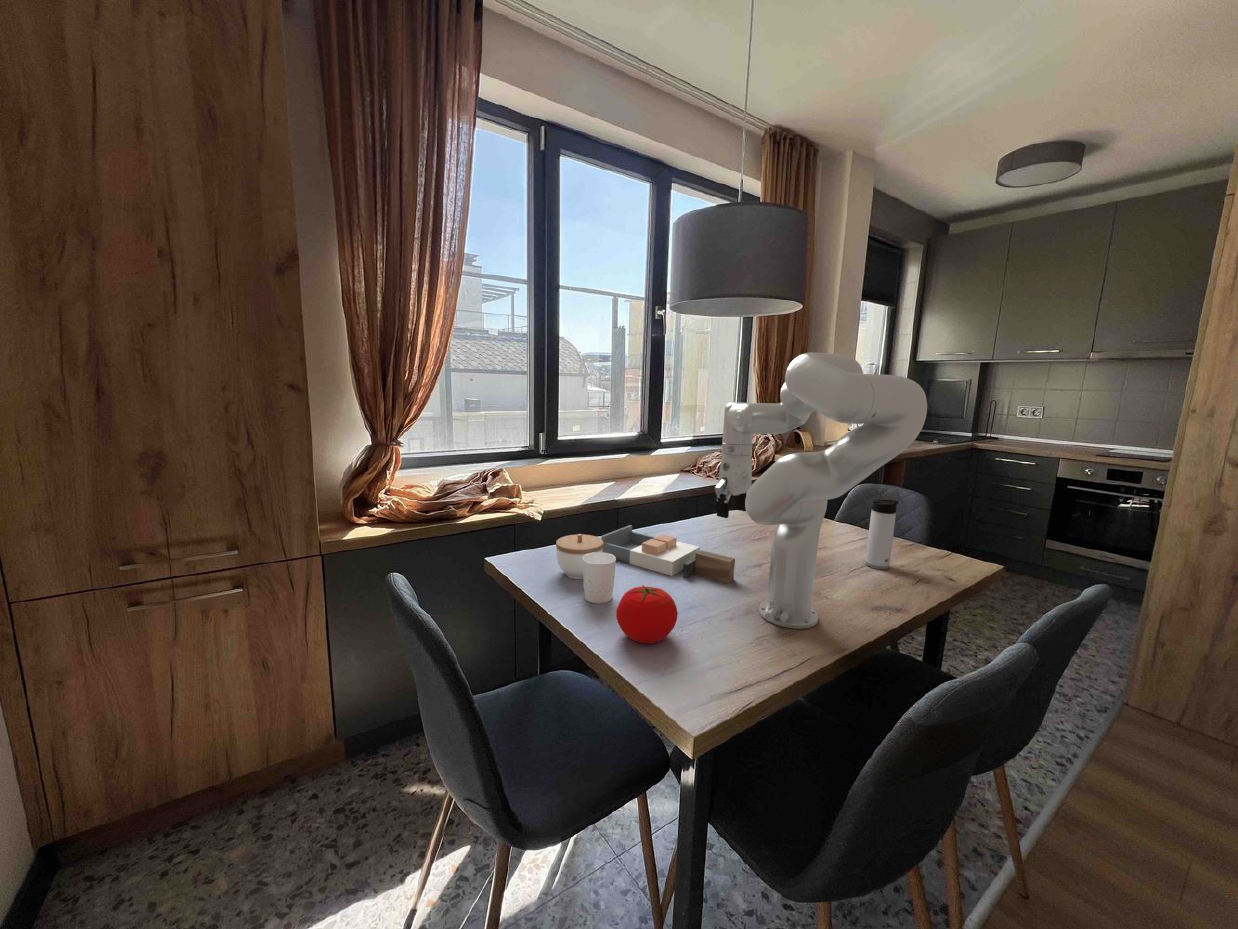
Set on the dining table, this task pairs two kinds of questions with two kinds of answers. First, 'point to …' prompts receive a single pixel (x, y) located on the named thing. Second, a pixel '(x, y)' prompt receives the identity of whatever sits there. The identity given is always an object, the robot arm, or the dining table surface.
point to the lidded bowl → (576, 552)
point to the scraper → (710, 566)
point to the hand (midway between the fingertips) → (732, 513)
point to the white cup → (598, 576)
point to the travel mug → (881, 533)
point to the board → (664, 558)
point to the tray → (623, 542)
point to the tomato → (646, 614)
